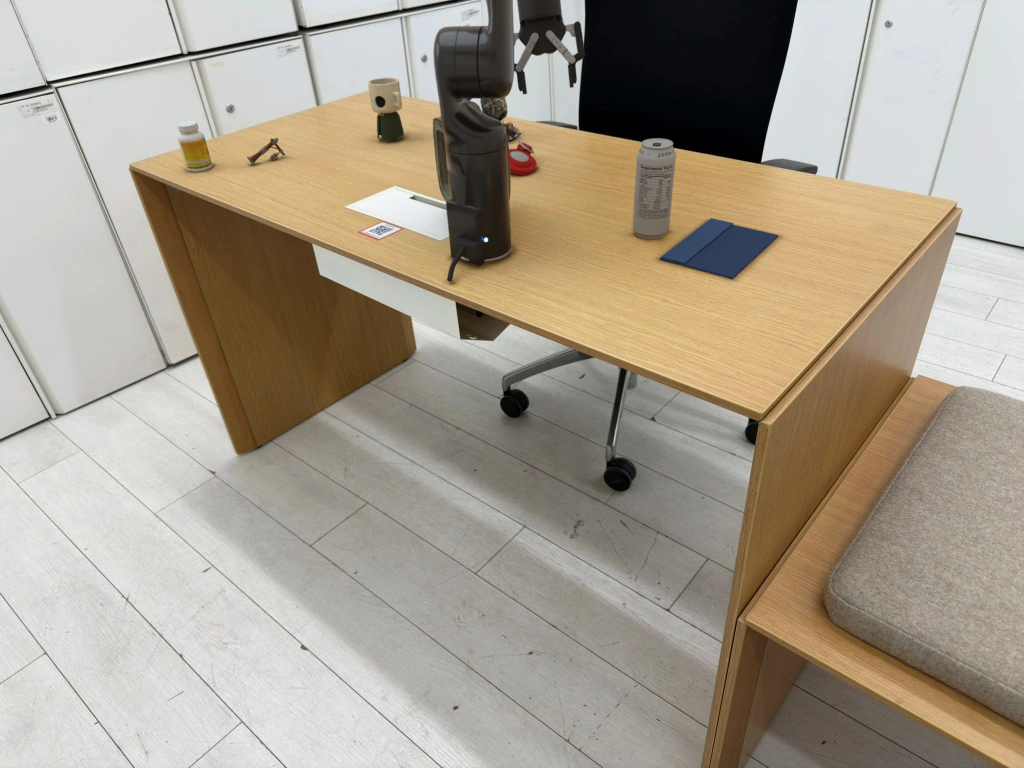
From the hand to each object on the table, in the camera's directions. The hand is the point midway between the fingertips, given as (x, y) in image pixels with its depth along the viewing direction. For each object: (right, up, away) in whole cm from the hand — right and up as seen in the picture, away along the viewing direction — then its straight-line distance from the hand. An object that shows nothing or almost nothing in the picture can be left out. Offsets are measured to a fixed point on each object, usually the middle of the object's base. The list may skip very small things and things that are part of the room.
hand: (548, 90), depth 129 cm
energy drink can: (+17, -28, -10) cm, 34 cm away
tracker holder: (-5, -8, +20) cm, 22 cm away
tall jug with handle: (-13, -25, -3) cm, 28 cm away
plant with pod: (-9, +4, +37) cm, 38 cm away
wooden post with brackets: (-61, -4, +30) cm, 68 cm away
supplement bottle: (-75, -6, +27) cm, 80 cm away
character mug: (-35, +5, +39) cm, 53 cm away
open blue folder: (+27, -32, -15) cm, 44 cm away
